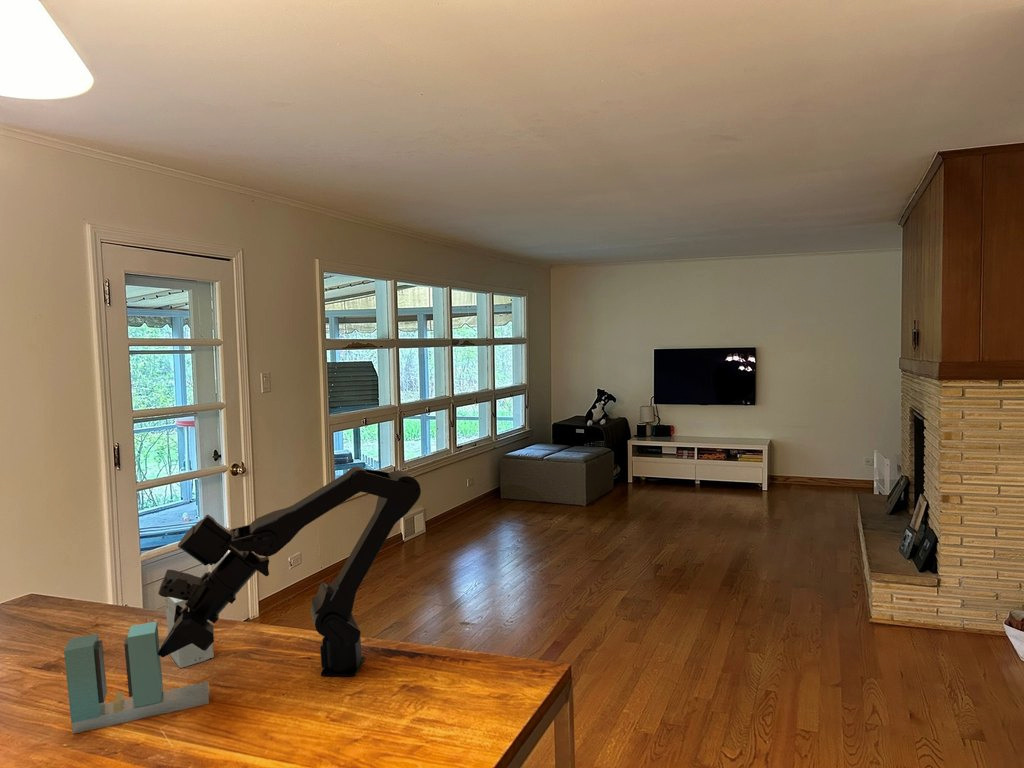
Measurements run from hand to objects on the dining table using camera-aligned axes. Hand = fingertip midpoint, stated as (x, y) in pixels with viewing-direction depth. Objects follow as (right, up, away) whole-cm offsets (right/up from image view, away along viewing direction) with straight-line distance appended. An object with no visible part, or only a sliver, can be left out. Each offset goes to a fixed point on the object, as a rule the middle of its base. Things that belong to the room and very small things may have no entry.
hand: (160, 655), depth 118 cm
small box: (-4, -8, +19) cm, 21 cm away
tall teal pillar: (-2, -7, 0) cm, 7 cm away
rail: (-3, -10, 0) cm, 10 cm away
